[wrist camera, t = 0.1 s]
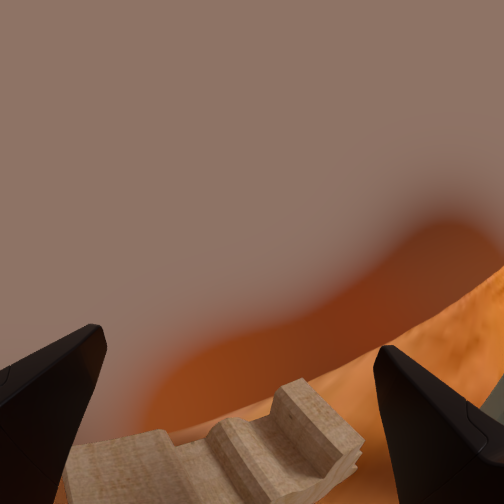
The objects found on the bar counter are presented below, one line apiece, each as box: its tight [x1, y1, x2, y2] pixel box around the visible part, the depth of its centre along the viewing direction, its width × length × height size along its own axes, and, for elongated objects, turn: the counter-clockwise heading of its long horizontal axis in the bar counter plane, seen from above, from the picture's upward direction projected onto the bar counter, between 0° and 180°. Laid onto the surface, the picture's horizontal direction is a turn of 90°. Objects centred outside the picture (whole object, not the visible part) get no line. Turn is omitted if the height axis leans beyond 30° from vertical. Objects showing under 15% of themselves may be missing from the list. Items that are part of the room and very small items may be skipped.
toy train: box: [62, 378, 365, 504], centre depth 13 cm, size 6×17×10 cm, turn 119°
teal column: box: [480, 374, 504, 425], centre depth 13 cm, size 5×5×12 cm
